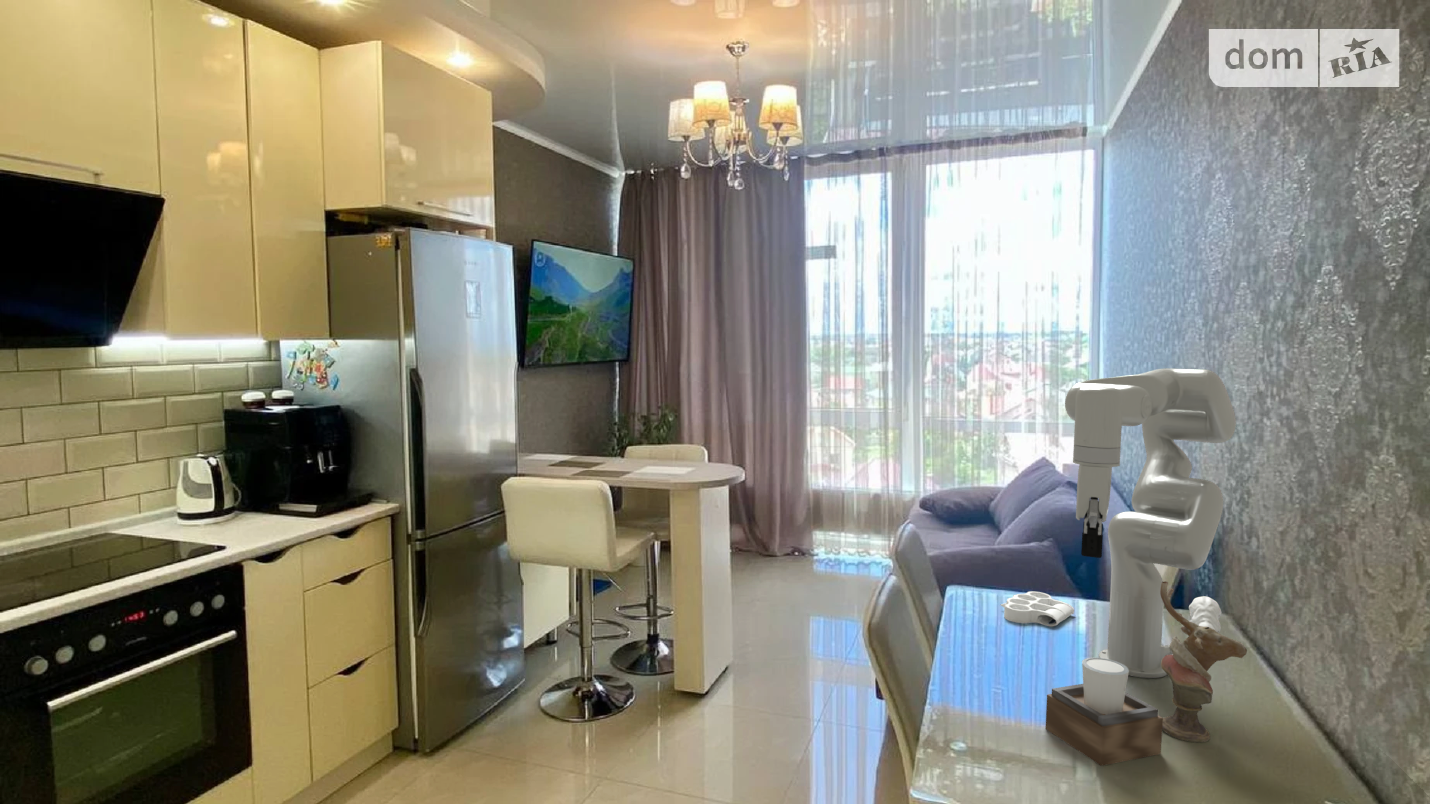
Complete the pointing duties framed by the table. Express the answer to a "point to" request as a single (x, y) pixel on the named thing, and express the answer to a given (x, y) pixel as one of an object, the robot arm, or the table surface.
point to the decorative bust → (1193, 672)
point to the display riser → (1104, 726)
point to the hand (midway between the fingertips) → (1091, 550)
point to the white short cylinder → (1104, 684)
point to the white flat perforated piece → (1036, 609)
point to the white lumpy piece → (1205, 613)
